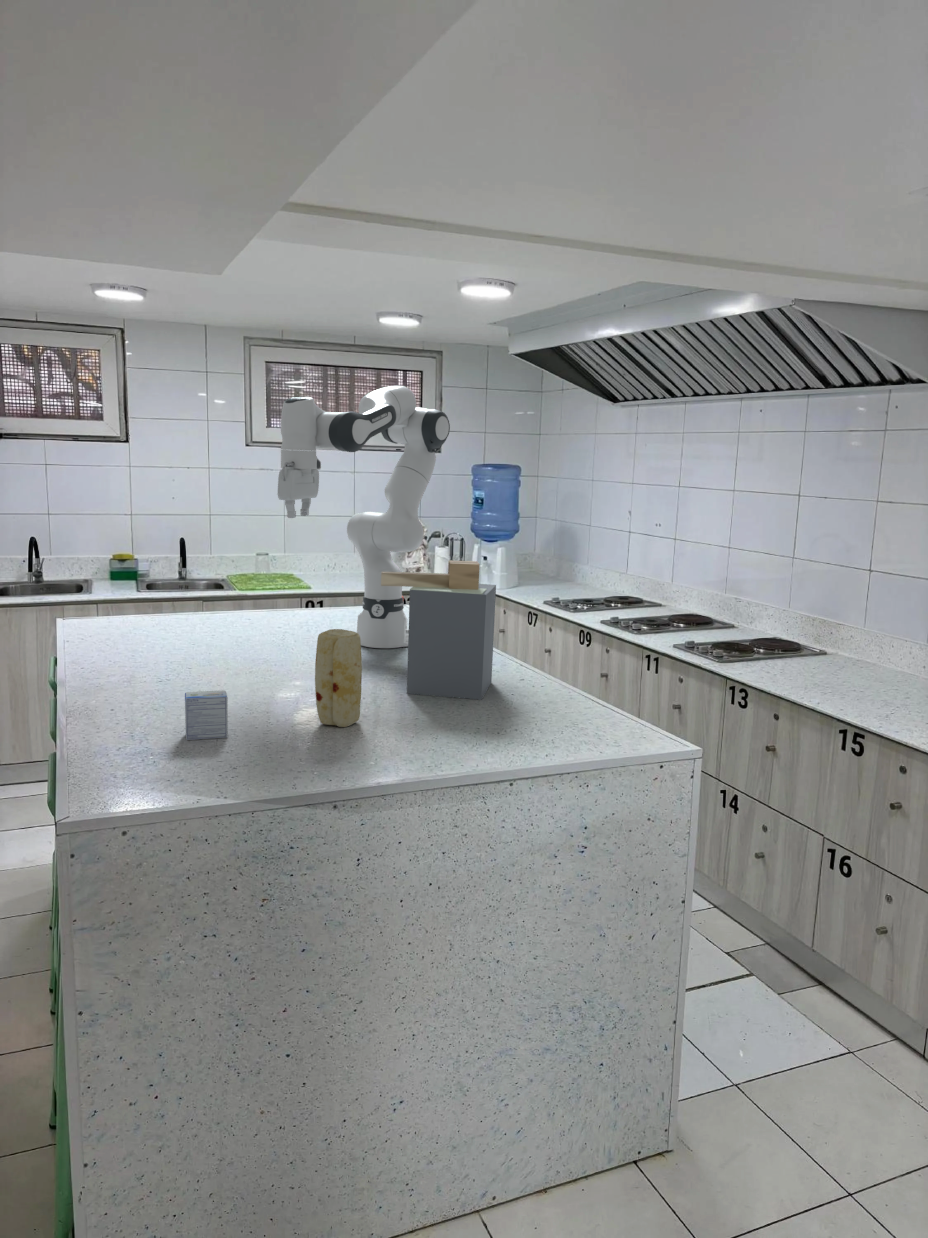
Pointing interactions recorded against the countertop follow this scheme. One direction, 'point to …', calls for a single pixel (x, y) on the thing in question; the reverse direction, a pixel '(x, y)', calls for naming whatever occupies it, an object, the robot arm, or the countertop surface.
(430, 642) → the stand
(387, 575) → the mallet
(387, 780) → the countertop surface
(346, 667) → the food model
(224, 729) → the medicine box
